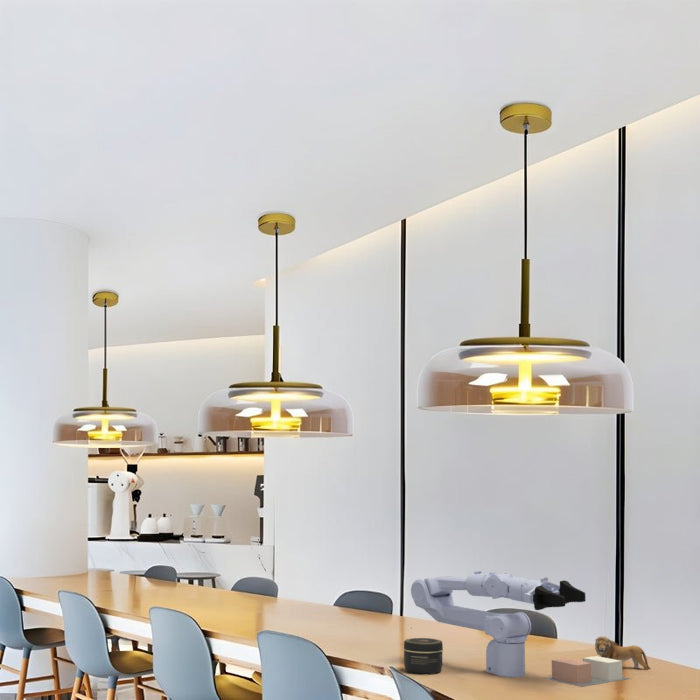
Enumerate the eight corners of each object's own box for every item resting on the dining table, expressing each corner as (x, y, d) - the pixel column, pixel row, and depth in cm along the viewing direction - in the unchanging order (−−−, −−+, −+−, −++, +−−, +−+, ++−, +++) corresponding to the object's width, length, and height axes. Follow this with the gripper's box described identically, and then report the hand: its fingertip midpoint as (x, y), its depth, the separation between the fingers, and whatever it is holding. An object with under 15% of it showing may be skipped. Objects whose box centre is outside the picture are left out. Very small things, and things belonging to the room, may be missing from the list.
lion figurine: (598, 674, 253) (597, 637, 254) (592, 670, 258) (591, 634, 259) (655, 674, 253) (654, 638, 255) (648, 670, 259) (647, 634, 260)
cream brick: (583, 675, 245) (582, 657, 246) (596, 673, 248) (596, 656, 249) (609, 680, 239) (608, 662, 239) (622, 678, 242) (622, 660, 242)
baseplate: (543, 682, 241) (543, 678, 241) (592, 674, 252) (592, 670, 252) (581, 691, 232) (581, 686, 232) (631, 682, 242) (631, 678, 242)
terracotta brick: (551, 678, 242) (551, 660, 242) (565, 675, 245) (565, 658, 245) (577, 683, 235) (577, 665, 236) (591, 681, 238) (591, 663, 239)
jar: (408, 666, 260) (408, 636, 261) (446, 669, 257) (446, 638, 258) (399, 673, 250) (399, 642, 251) (439, 676, 248) (439, 644, 249)
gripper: (509, 578, 239) (554, 586, 229) (547, 570, 249) (592, 578, 238) (509, 608, 239) (555, 617, 229) (548, 599, 248) (593, 608, 238)
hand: (574, 599), depth 234 cm, fingers open, 7 cm apart
